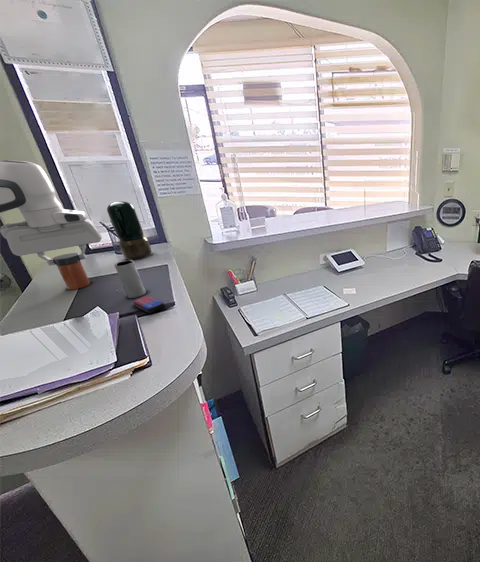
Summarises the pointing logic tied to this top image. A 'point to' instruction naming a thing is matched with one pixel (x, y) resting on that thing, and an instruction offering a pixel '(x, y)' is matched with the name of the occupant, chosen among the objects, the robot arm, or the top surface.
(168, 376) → the top surface
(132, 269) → the planter
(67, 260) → the jar lid
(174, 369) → the top surface
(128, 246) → the lamp
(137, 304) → the eraser
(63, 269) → the jar
